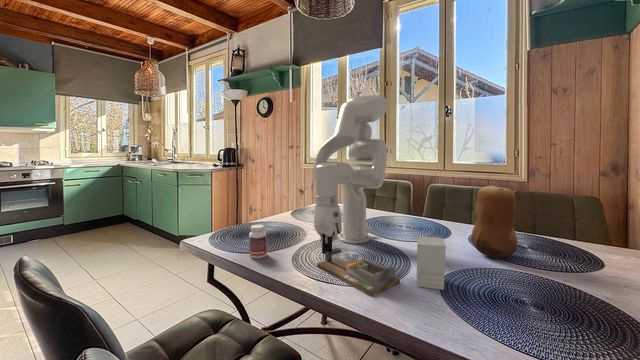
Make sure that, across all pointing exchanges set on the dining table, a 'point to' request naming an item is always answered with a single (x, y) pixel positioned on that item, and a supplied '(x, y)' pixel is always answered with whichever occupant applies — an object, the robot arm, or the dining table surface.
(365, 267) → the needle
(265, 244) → the pill bottle
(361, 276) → the wooden board
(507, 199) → the butternut squash
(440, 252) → the supplement box
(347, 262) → the grey and white block
